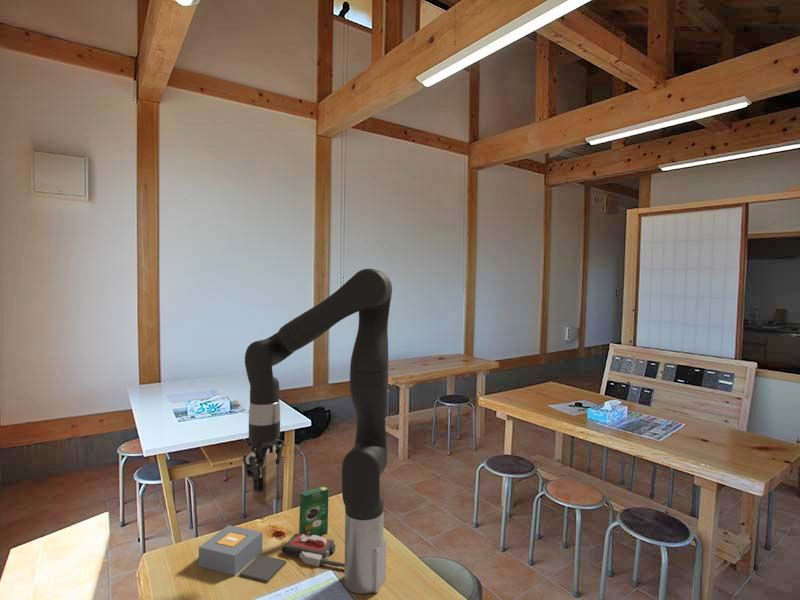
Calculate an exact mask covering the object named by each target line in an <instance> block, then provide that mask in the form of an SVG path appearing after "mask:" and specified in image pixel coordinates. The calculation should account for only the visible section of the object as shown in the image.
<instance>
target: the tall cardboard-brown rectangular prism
mask: <svg viewBox="0 0 800 600" xmlns="http://www.w3.org/2000/svg"><path fill="white" fill-rule="evenodd" d="M276 457H277V454H276V451H274V452H270V453H269V455H267V456H265V467H264V470H263V491H262V492H261V493H259V492H255V491H254V489H253V485H254V484H253V480H254V479H253V478H252V477H251V482H252V485H251V487H252V488H251V489H252V490H251V491H252V493H251V494H252V496H251V497H252V499H251V500H252V501H251V502H252V504H257V505H263V506H268V504H270V503H271V502H272V501H274V500H275V499H276V492H277V491H276V489H277V487H276V485H277V484H276V483H277V481H276V479H277V477H276V475H277V473H276V468H277V465H276ZM256 463H258V464H262V462H258V461H256ZM257 469H258V472H259V470H260V468H259V467H257Z"/></svg>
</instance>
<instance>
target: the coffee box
mask: <svg viewBox="0 0 800 600" xmlns="http://www.w3.org/2000/svg"><path fill="white" fill-rule="evenodd" d="M329 493H330V489H329V488H328V487H327V486H325V485H322V486H319V487H316V488H312V489H308V490H305V491H301V492H300V493H299V494H300V495H299V496H300V497H299V500H300V501H299V523H298V525H299V527H298V529H299V531H298V534H304V535H309V536H312V535H318V536H319V537H320V536H323V535H325V534H328V531H329V523H328V521H329Z"/></svg>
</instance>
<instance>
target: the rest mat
mask: <svg viewBox="0 0 800 600" xmlns="http://www.w3.org/2000/svg"><path fill="white" fill-rule="evenodd" d="M286 564H287V560H285V559H280V558H276V557H272V556H269V555H264V554H263V555H262V554H258V555H257V556H256V557H255V558H254V559H253V560H252V561H251V562H250V563H248V564H247V565H246V566H245V567H244V568H243V569H242V570H241V571H240V572H239V576H240V577H243V578H248V579H252V580H256V581H260V582H263V583H269V582H270V581H271V580H272V579H273V578H274V577H275V576H276V575H277V573H278V572H279V571H280V570H281V569H282V568H283V567H284V566H285V565H286Z"/></svg>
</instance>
